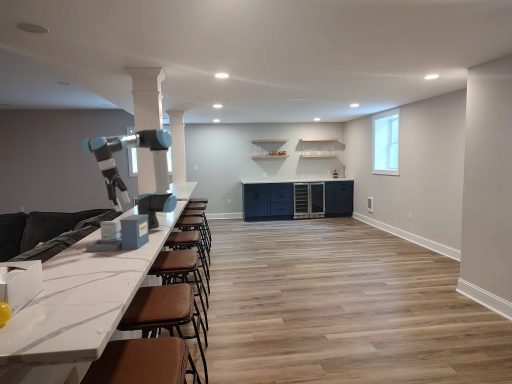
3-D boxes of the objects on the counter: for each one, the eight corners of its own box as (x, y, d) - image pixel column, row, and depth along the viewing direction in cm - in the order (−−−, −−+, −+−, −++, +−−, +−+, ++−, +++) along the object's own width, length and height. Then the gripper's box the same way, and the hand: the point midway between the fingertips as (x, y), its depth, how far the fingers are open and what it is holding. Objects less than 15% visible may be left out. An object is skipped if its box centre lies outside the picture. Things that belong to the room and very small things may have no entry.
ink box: (121, 241, 175) (120, 220, 174) (116, 243, 170) (115, 222, 169) (106, 241, 176) (105, 220, 175) (101, 243, 171) (99, 222, 170)
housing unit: (134, 241, 175) (132, 214, 174) (149, 241, 175) (148, 214, 174) (121, 249, 159) (119, 219, 157) (138, 249, 159) (137, 219, 157)
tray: (98, 245, 167) (97, 240, 166) (125, 245, 166) (125, 239, 166) (87, 251, 156) (86, 245, 156) (116, 251, 156) (116, 245, 155)
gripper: (106, 171, 147) (123, 212, 153) (123, 161, 171) (137, 197, 177) (91, 175, 147) (108, 216, 153) (110, 165, 171) (124, 201, 177)
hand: (123, 206), depth 165 cm, fingers open, 13 cm apart
